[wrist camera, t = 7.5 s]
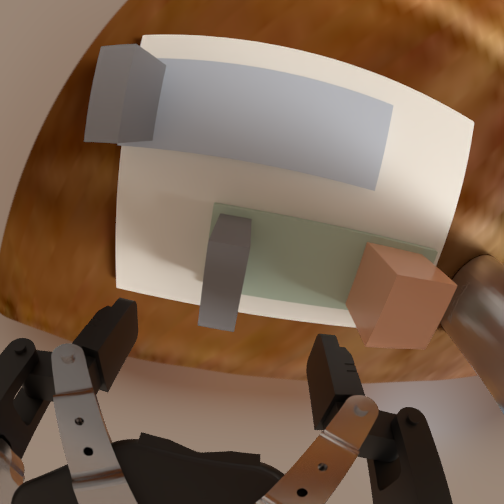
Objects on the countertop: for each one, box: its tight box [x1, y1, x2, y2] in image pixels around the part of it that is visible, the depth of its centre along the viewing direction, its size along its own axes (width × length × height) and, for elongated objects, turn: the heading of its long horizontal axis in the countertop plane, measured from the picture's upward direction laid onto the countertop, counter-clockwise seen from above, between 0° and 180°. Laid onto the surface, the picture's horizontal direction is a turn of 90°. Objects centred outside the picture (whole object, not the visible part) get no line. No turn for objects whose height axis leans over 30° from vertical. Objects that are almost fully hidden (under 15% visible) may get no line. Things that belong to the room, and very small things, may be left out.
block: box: [345, 242, 458, 349], centre depth 18 cm, size 5×5×5 cm
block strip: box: [198, 202, 438, 332], centre depth 18 cm, size 17×6×6 cm, turn 79°
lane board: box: [116, 35, 474, 328], centre depth 19 cm, size 25×19×1 cm
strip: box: [84, 44, 393, 191], centre depth 14 cm, size 17×6×6 cm, turn 79°
